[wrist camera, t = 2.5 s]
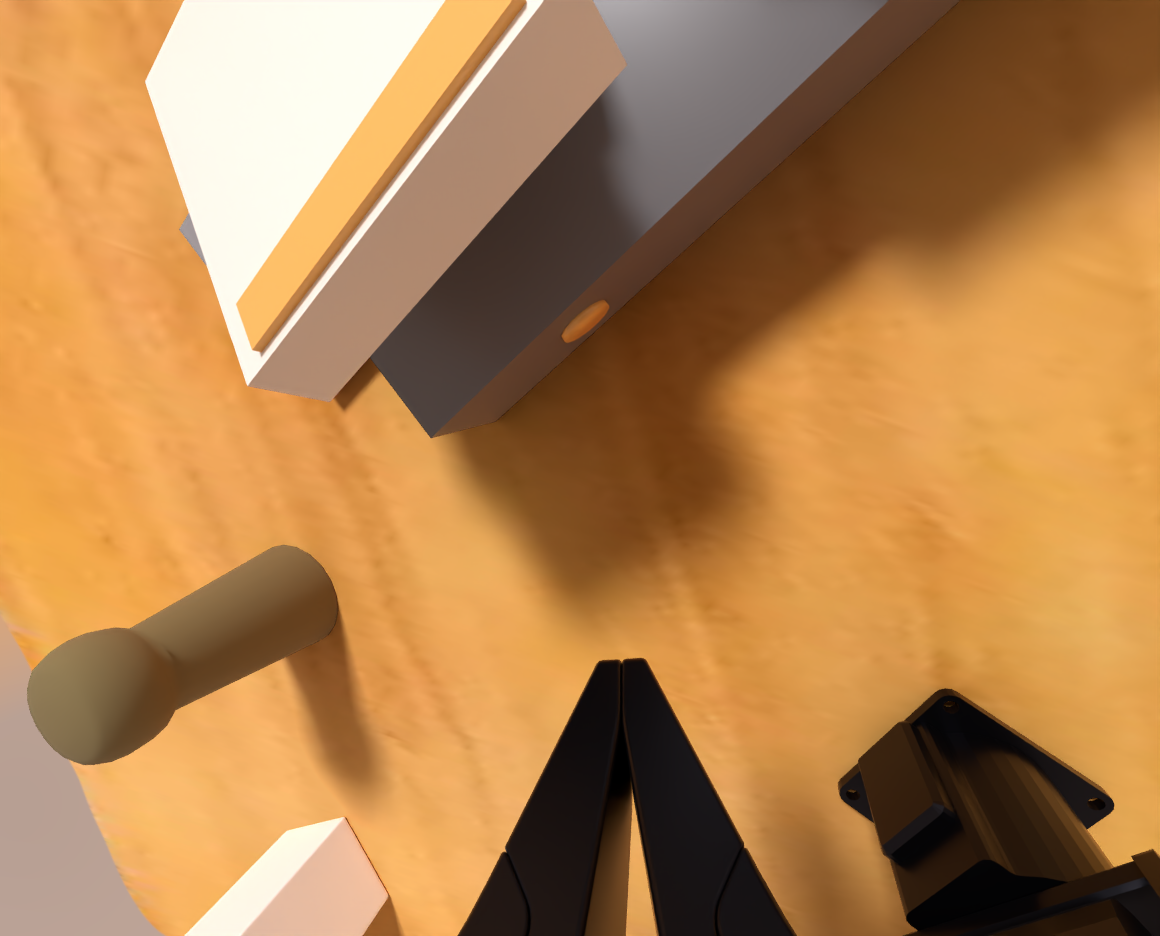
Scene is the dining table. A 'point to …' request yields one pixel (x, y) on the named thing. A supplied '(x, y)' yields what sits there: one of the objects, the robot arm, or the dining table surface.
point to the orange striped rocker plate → (358, 154)
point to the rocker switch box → (633, 185)
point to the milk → (301, 889)
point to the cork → (178, 655)
